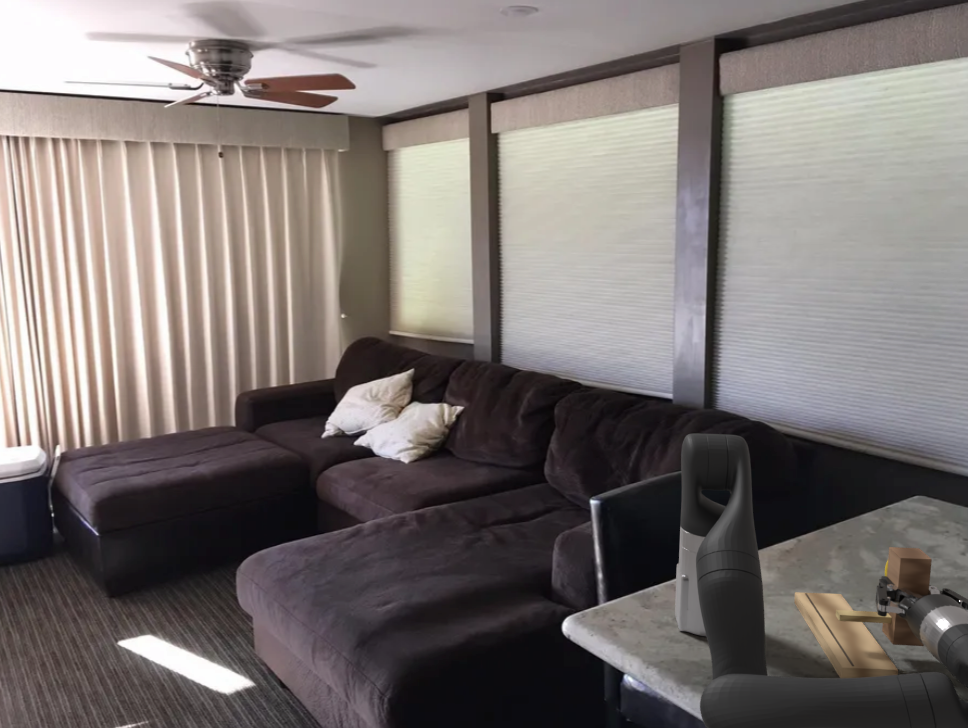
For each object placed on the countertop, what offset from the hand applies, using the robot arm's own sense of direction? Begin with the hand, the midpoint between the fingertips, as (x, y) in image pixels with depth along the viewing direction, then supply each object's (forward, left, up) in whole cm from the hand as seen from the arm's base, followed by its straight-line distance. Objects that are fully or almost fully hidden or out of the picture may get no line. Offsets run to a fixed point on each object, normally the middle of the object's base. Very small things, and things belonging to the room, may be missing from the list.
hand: (900, 582), depth 131 cm
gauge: (-4, -3, -8) cm, 9 cm away
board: (-7, +3, -11) cm, 14 cm away
